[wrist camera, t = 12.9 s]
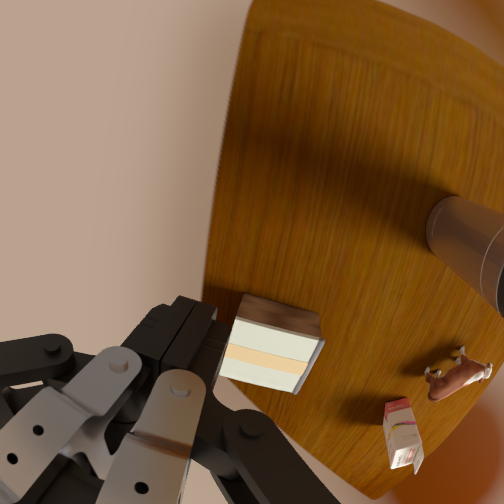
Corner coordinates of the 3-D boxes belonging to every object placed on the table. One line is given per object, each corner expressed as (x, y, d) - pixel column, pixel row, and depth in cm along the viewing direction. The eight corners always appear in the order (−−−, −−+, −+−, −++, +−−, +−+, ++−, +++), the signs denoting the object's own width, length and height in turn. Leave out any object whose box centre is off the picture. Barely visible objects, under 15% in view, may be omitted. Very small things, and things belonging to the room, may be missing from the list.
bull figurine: (478, 350, 38) (497, 377, 31) (420, 382, 42) (433, 413, 34) (478, 335, 37) (499, 361, 30) (417, 368, 41) (431, 399, 33)
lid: (324, 338, 34) (325, 343, 33) (297, 390, 38) (297, 394, 37) (236, 315, 34) (234, 320, 33) (220, 371, 38) (218, 375, 37)
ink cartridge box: (383, 402, 44) (398, 464, 31) (407, 396, 43) (426, 455, 30) (381, 426, 47) (392, 482, 33) (403, 420, 46) (417, 475, 32)
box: (318, 313, 40) (321, 338, 34) (295, 363, 43) (294, 389, 38) (244, 292, 40) (236, 314, 35) (228, 345, 44) (220, 369, 38)
